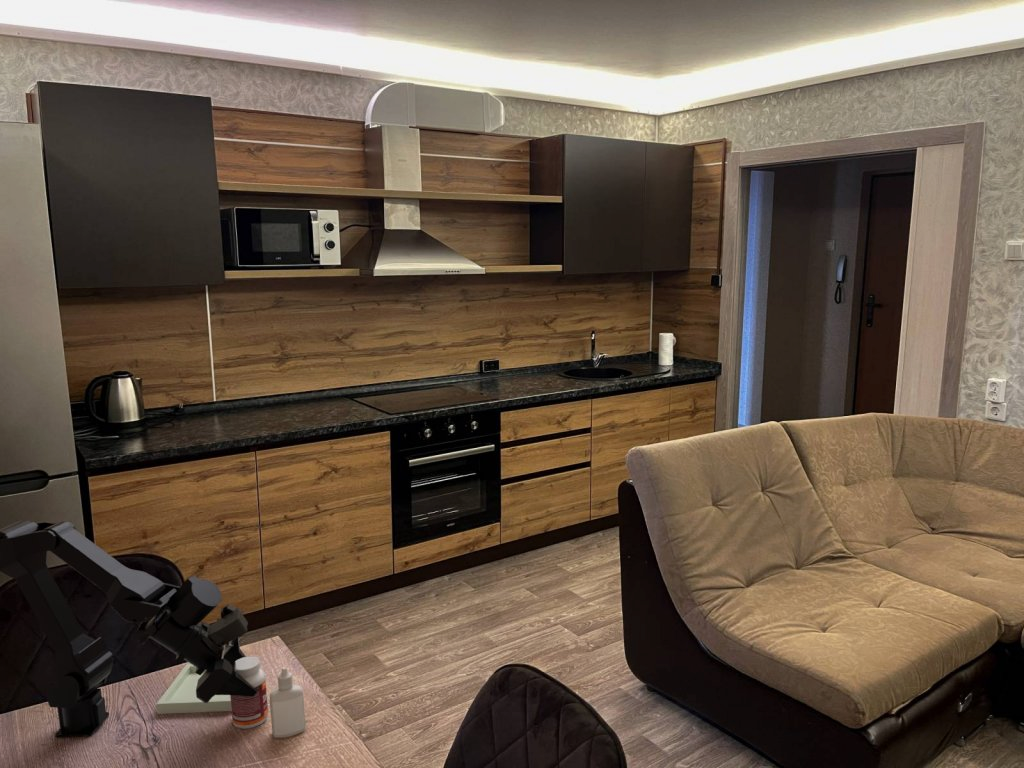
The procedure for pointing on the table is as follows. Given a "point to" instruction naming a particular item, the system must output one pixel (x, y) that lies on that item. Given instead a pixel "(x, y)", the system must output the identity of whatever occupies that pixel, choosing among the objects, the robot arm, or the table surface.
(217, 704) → the tray
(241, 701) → the pill bottle
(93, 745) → the table surface
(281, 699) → the eye dropper bottle
